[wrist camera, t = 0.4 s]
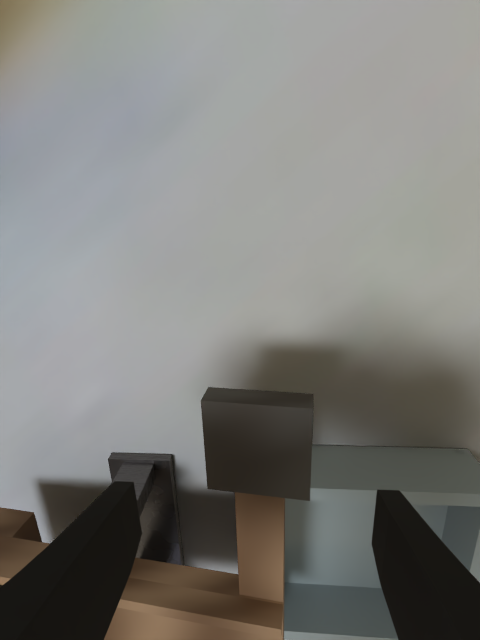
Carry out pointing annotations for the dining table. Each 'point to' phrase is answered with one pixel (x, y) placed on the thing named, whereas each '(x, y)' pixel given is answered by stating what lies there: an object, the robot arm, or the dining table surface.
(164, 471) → the stand
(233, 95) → the dining table surface
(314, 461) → the tray
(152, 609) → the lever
